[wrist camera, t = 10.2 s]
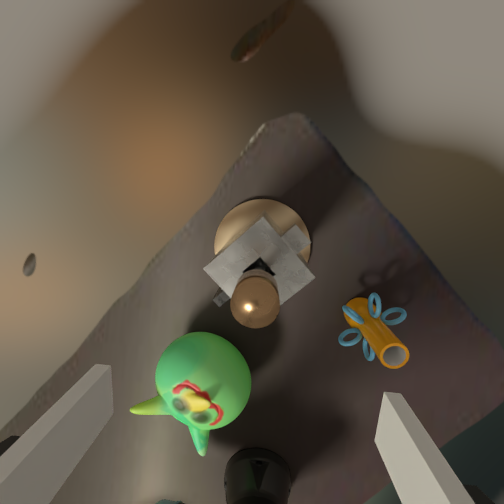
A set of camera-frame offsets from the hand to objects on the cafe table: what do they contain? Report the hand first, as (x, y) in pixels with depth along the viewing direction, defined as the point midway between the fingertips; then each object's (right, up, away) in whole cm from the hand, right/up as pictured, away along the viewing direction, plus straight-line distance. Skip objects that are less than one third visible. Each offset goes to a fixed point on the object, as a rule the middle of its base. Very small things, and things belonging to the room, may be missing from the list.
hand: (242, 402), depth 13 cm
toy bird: (-8, -15, +43) cm, 47 cm away
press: (+2, +8, +37) cm, 38 cm away
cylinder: (+21, -4, +39) cm, 45 cm away
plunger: (+2, +7, +30) cm, 31 cm away
